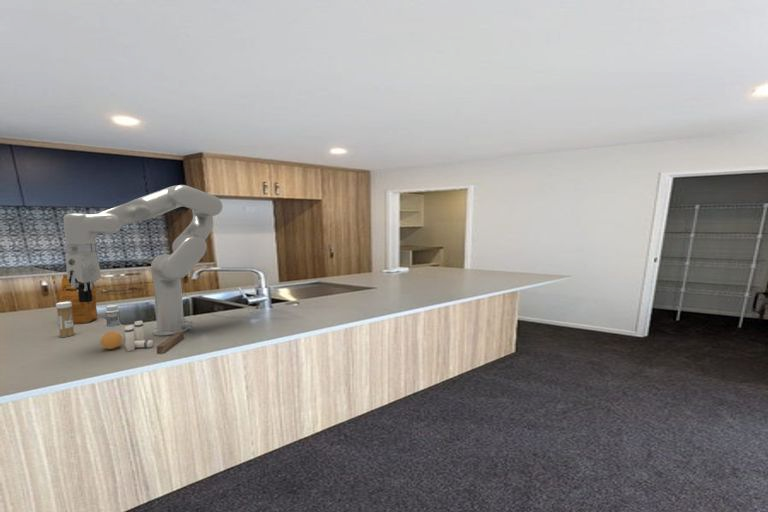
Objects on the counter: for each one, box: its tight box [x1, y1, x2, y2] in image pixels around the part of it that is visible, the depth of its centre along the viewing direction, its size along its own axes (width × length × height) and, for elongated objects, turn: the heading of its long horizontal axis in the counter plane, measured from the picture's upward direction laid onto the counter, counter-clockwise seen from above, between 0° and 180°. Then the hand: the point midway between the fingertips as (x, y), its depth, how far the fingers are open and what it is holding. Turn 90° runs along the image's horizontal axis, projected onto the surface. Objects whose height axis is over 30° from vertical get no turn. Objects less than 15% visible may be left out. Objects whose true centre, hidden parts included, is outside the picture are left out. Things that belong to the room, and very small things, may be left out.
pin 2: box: [133, 320, 145, 341], centre depth 131 cm, size 3×3×8 cm
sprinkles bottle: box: [55, 301, 75, 338], centre depth 142 cm, size 5×5×13 cm
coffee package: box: [59, 273, 99, 325], centre depth 162 cm, size 10×12×22 cm
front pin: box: [124, 339, 154, 349], centre depth 128 cm, size 3×3×8 cm
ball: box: [100, 331, 123, 350], centre depth 127 cm, size 6×6×6 cm
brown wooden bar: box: [156, 332, 184, 354], centre depth 130 cm, size 2×16×2 cm, turn 7°
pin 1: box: [124, 324, 136, 352], centre depth 125 cm, size 3×3×8 cm
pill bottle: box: [105, 304, 121, 327], centre depth 157 cm, size 5×5×8 cm
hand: (85, 301), depth 125 cm, fingers closed
